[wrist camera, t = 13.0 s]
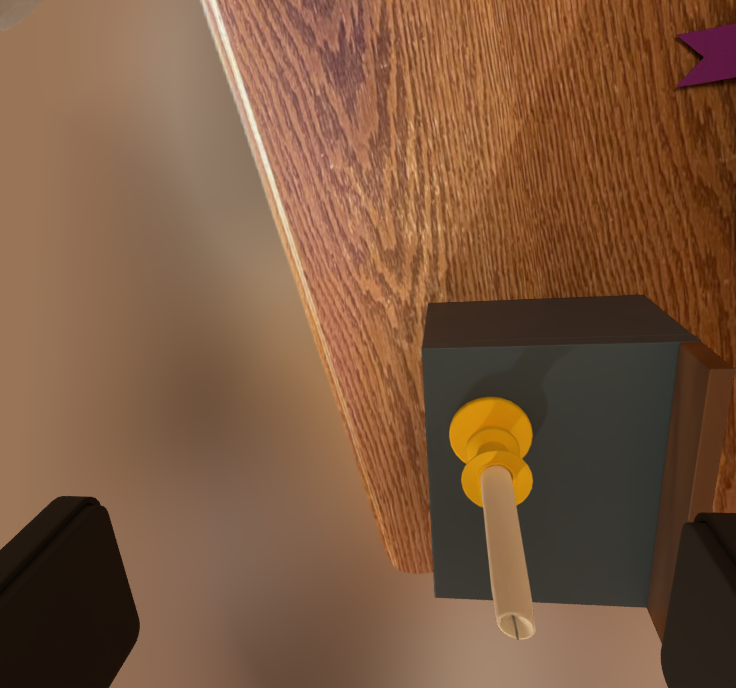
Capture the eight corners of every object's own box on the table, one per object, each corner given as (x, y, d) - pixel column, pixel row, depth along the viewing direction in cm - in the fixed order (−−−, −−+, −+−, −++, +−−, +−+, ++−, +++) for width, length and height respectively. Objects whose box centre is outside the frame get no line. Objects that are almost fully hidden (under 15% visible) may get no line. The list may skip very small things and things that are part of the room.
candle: (463, 474, 36) (472, 696, 22) (438, 408, 35) (430, 599, 20) (541, 456, 35) (605, 678, 21) (518, 386, 34) (571, 573, 19)
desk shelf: (437, 512, 50) (433, 644, 37) (428, 302, 43) (418, 374, 30) (622, 516, 47) (687, 659, 34) (644, 294, 40) (736, 368, 27)
